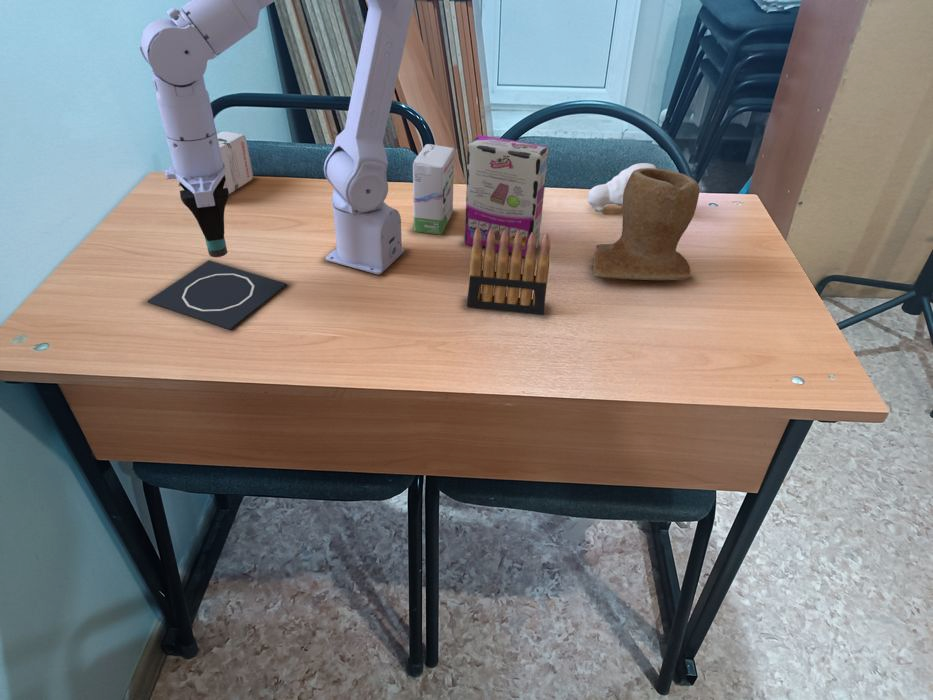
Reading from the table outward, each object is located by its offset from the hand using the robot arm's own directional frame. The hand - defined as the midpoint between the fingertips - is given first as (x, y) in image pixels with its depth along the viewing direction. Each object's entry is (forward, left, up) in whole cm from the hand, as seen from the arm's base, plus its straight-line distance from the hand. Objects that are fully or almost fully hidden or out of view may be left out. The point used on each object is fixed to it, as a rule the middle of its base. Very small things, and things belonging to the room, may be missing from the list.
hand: (214, 233), depth 86 cm
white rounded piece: (-44, -50, -9) cm, 67 cm away
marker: (0, 0, -3) cm, 3 cm away
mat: (0, +2, -8) cm, 9 cm away
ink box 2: (-17, -31, -9) cm, 37 cm away
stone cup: (-51, -32, -9) cm, 61 cm away
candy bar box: (-30, -29, -9) cm, 43 cm away
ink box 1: (+21, -19, -4) cm, 28 cm away
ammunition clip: (-37, -13, -9) cm, 40 cm away
